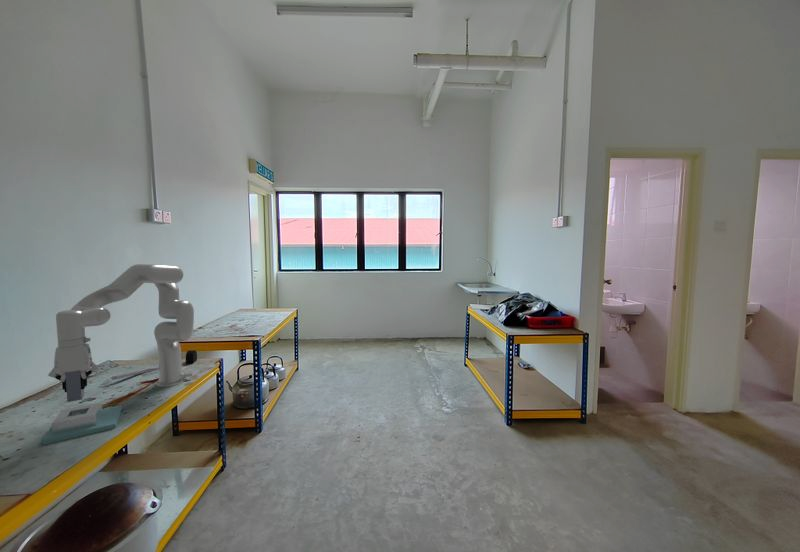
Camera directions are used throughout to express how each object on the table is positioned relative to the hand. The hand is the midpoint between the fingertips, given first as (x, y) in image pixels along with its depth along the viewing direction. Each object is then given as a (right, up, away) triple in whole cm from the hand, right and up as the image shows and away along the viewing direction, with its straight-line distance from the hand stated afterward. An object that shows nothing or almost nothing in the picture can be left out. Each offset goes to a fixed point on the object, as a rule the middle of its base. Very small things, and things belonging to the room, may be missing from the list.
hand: (75, 389), depth 130 cm
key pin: (0, -4, 0) cm, 4 cm away
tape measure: (0, -9, +75) cm, 76 cm away
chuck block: (+2, -15, +3) cm, 16 cm away
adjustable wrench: (-20, -11, +40) cm, 46 cm away
